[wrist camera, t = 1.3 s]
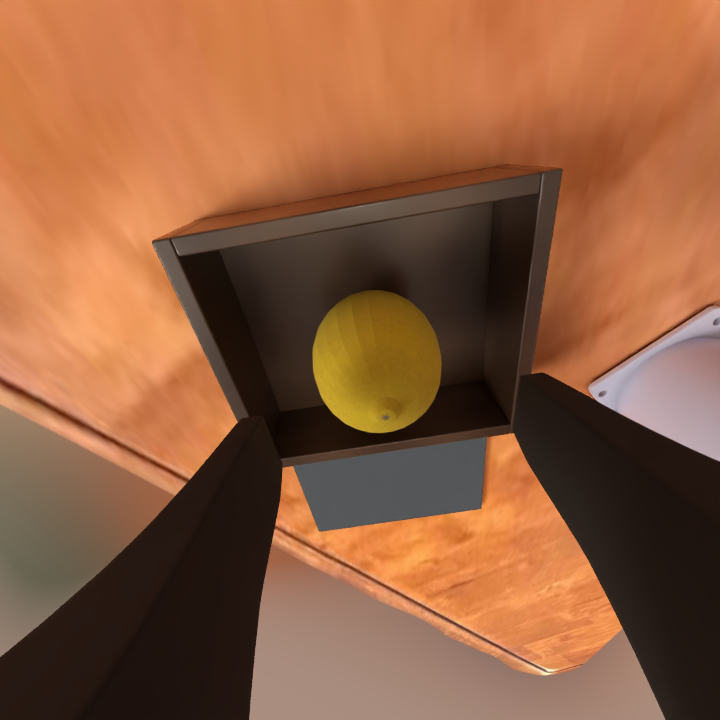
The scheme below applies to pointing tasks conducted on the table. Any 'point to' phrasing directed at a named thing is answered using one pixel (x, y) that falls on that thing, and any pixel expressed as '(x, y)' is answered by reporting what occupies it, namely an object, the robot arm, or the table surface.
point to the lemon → (376, 361)
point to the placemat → (395, 484)
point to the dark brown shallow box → (373, 272)
